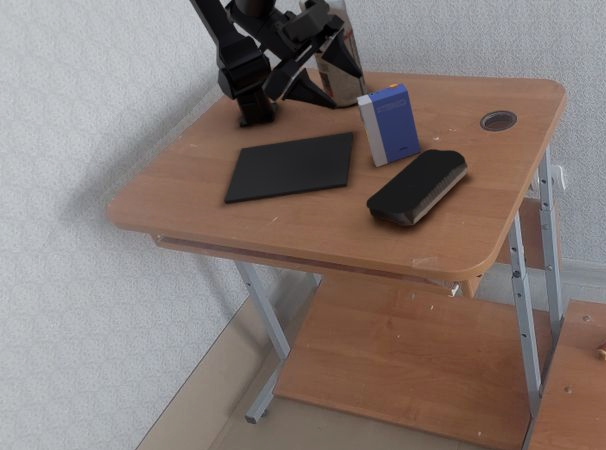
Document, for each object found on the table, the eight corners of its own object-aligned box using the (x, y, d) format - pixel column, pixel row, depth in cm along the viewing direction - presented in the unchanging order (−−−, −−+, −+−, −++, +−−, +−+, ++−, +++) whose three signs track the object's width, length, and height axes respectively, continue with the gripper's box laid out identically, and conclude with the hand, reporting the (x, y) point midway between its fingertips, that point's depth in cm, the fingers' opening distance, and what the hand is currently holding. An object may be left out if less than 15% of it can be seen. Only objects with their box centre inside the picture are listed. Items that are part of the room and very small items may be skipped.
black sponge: (409, 236, 100) (404, 217, 97) (365, 219, 104) (360, 200, 102) (474, 173, 109) (471, 154, 106) (431, 160, 113) (427, 141, 111)
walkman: (415, 143, 118) (401, 80, 110) (421, 152, 116) (407, 88, 108) (371, 158, 116) (354, 96, 108) (376, 167, 114) (358, 104, 106)
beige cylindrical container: (326, 90, 136) (297, -9, 124) (368, 82, 136) (342, -18, 124) (326, 112, 130) (294, 10, 117) (369, 104, 130) (342, 1, 117)
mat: (242, 151, 124) (241, 148, 124) (353, 134, 123) (352, 131, 122) (225, 203, 113) (223, 201, 112) (346, 186, 111) (345, 183, 111)
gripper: (253, 17, 95) (345, 92, 98) (318, -37, 108) (397, 31, 111) (227, 67, 103) (312, 135, 106) (290, 11, 115) (364, 73, 119)
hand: (348, 91), depth 110 cm, fingers open, 9 cm apart
